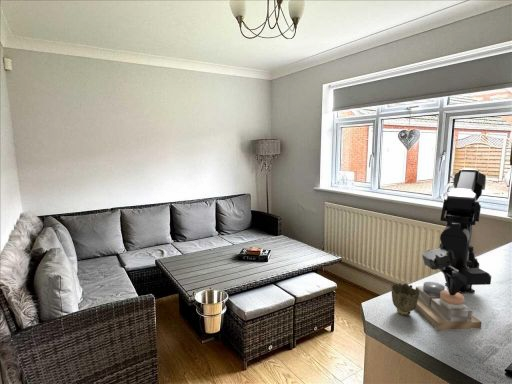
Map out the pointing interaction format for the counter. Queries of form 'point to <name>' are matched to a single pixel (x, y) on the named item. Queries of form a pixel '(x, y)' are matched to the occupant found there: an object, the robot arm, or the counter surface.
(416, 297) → the cup
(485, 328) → the counter surface
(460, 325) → the button board
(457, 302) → the plunger terracotta
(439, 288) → the plunger grey
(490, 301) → the counter surface
